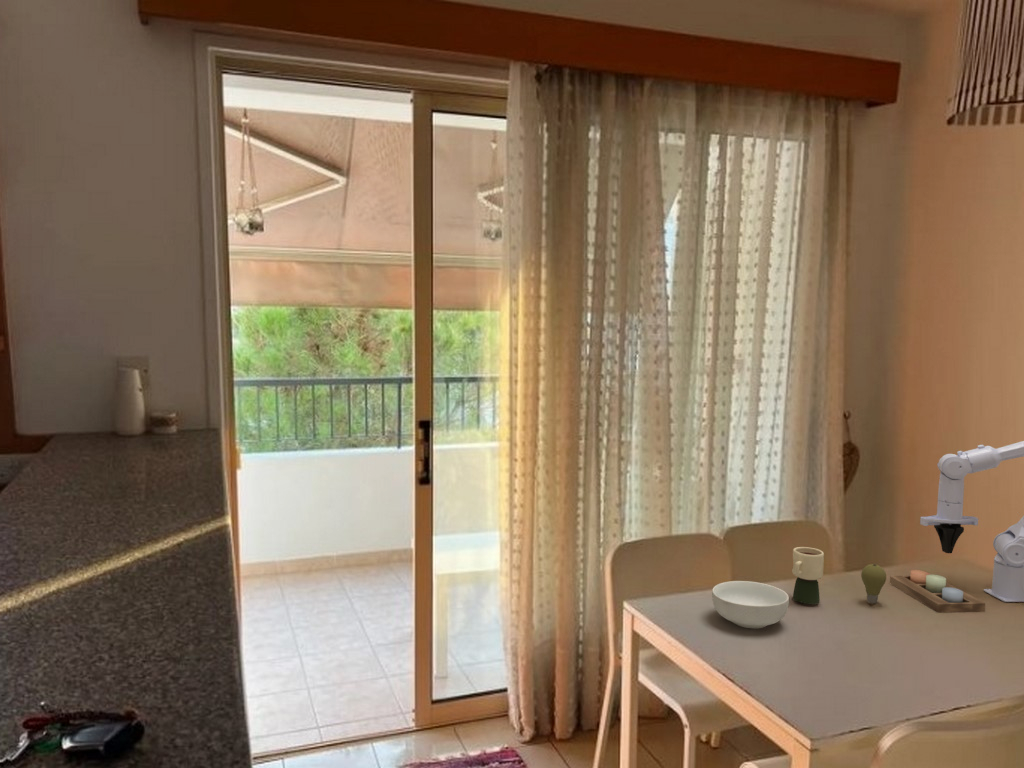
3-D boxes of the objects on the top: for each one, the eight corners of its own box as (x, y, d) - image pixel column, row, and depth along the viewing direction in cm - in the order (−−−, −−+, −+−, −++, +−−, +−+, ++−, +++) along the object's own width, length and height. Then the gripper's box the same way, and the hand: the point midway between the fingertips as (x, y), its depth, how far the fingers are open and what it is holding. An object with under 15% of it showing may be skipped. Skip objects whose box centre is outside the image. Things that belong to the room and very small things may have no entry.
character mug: (804, 593, 195) (806, 543, 194) (830, 601, 189) (833, 550, 188) (780, 602, 188) (783, 551, 187) (807, 611, 182) (810, 558, 181)
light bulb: (887, 609, 185) (889, 569, 184) (862, 607, 186) (865, 567, 185) (881, 600, 190) (883, 561, 189) (857, 598, 191) (859, 560, 190)
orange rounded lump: (922, 582, 202) (922, 569, 202) (932, 588, 198) (933, 575, 198) (906, 582, 202) (907, 570, 202) (916, 588, 198) (917, 575, 197)
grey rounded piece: (954, 600, 189) (955, 587, 189) (966, 607, 185) (967, 593, 185) (937, 601, 189) (938, 587, 189) (949, 608, 185) (950, 593, 184)
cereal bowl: (758, 604, 187) (759, 576, 186) (803, 632, 171) (805, 601, 170) (697, 612, 181) (698, 583, 181) (738, 640, 166) (739, 609, 165)
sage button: (938, 587, 196) (938, 574, 195) (949, 593, 191) (950, 580, 191) (921, 587, 195) (922, 574, 195) (932, 594, 191) (933, 580, 191)
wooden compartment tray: (932, 582, 204) (933, 575, 204) (984, 611, 184) (985, 603, 184) (889, 583, 203) (890, 575, 203) (937, 612, 183) (938, 604, 183)
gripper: (966, 496, 201) (963, 547, 203) (914, 497, 200) (911, 547, 201) (985, 503, 194) (981, 555, 196) (931, 504, 193) (927, 556, 194)
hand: (947, 552), depth 198 cm, fingers closed
